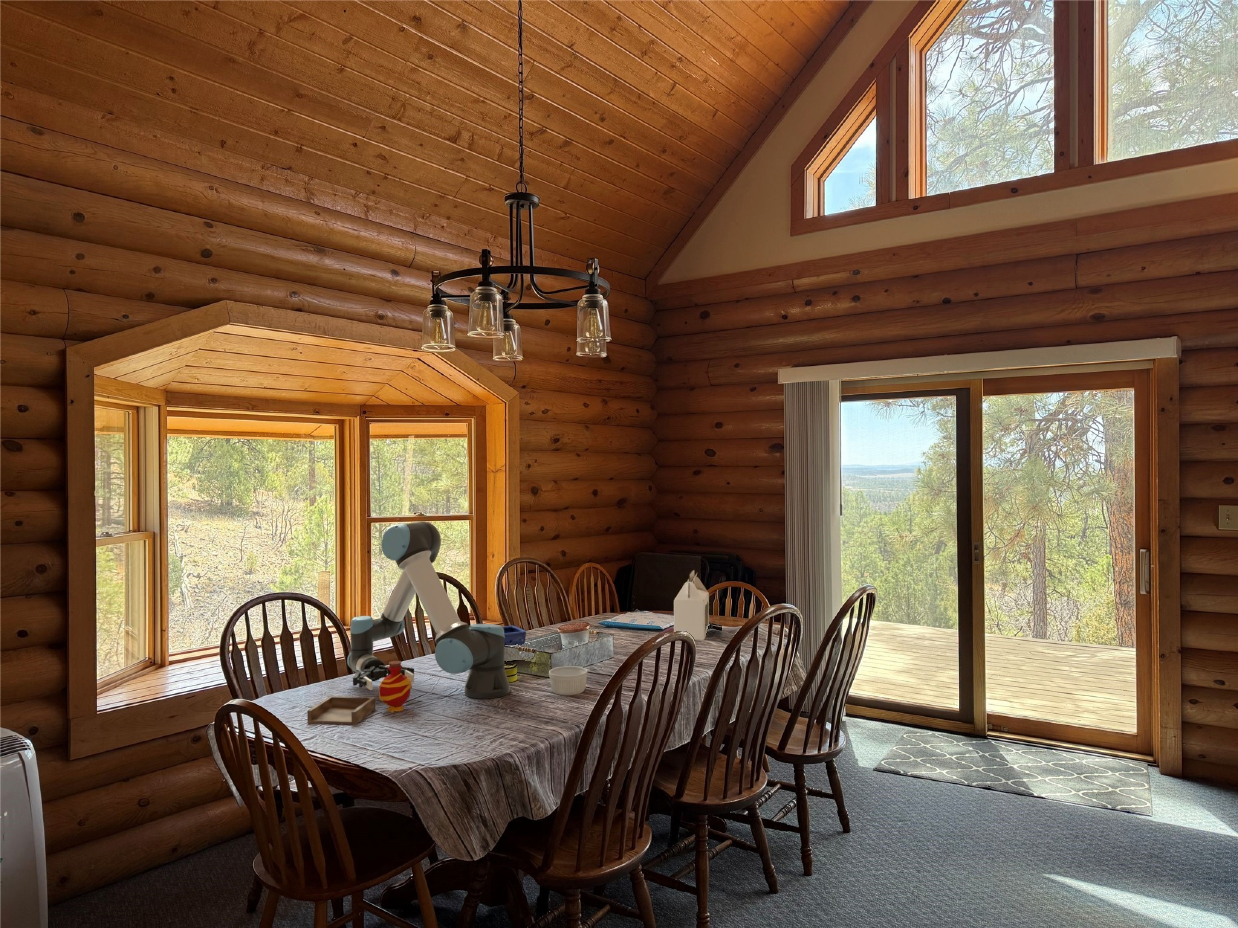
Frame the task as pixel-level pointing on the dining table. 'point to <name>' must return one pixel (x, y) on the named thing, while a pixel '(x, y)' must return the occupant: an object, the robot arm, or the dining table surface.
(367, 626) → the robot arm
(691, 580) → the gable box
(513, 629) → the flower pot
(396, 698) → the potion bottle
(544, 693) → the dining table surface
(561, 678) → the ramekin
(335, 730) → the dining table surface
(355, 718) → the u rest
